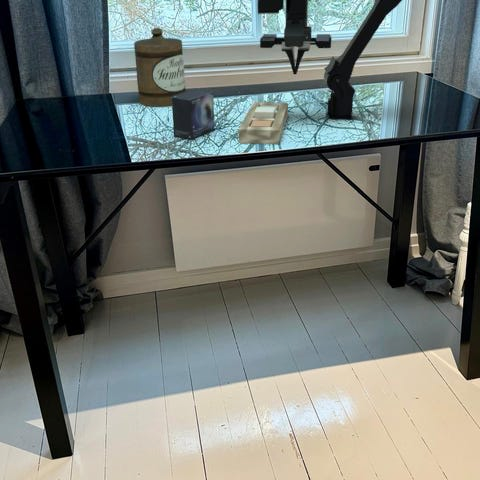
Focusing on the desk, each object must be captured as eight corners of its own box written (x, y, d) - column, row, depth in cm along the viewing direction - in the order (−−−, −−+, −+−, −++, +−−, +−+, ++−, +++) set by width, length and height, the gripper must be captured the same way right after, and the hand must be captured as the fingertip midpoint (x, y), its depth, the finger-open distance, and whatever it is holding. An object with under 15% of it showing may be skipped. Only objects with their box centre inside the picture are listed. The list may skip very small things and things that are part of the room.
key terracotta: (272, 130, 146) (272, 120, 144) (270, 136, 141) (270, 126, 140) (253, 129, 146) (253, 120, 145) (250, 135, 142) (250, 125, 141)
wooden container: (166, 109, 170) (160, 32, 159) (129, 103, 177) (121, 30, 166) (195, 98, 181) (191, 26, 170) (159, 93, 188) (153, 23, 177)
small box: (192, 140, 143) (190, 99, 138) (172, 136, 146) (169, 96, 141) (216, 129, 151) (214, 90, 146) (196, 126, 154) (194, 87, 149)
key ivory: (275, 116, 151) (275, 107, 150) (273, 121, 147) (273, 112, 146) (257, 116, 152) (256, 106, 151) (254, 121, 148) (254, 111, 147)
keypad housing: (287, 115, 161) (288, 102, 160) (278, 144, 139) (278, 130, 137) (253, 114, 163) (253, 102, 161) (238, 142, 140) (238, 129, 139)
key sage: (278, 114, 159) (278, 105, 157) (276, 119, 154) (276, 110, 153) (260, 113, 159) (260, 105, 158) (258, 118, 155) (258, 109, 154)
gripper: (257, 17, 141) (257, 80, 148) (332, 16, 138) (328, 81, 145) (262, 11, 150) (262, 71, 158) (332, 11, 147) (329, 72, 155)
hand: (295, 74), depth 154 cm, fingers closed
